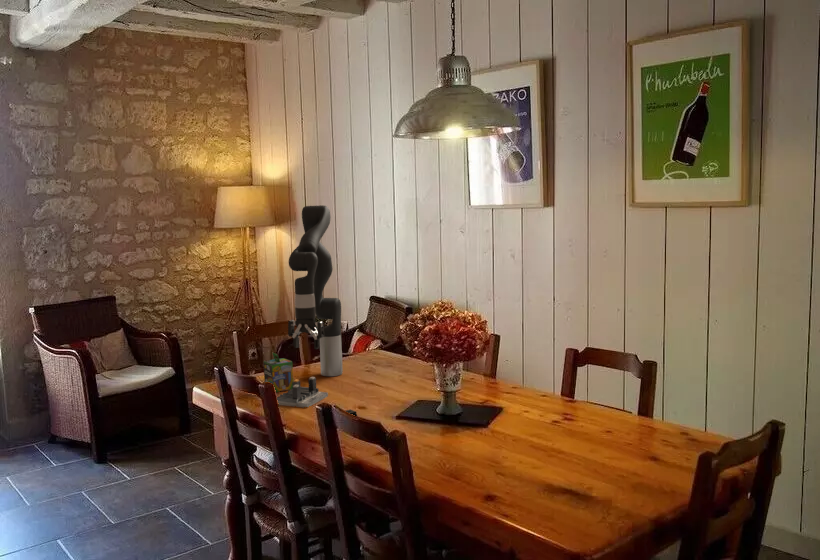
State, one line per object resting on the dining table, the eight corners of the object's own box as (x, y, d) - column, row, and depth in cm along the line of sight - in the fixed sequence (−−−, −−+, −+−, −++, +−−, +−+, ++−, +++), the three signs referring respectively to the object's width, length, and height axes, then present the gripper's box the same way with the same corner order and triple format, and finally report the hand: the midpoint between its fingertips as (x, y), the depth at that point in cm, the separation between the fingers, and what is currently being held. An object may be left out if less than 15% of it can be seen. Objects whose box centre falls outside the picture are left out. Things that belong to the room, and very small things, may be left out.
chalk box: (294, 389, 298) (293, 353, 296) (273, 393, 293) (271, 356, 291) (284, 384, 306) (283, 349, 304) (264, 388, 301) (262, 352, 299)
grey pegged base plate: (294, 392, 293) (293, 374, 292) (328, 396, 287) (327, 377, 286) (271, 404, 278) (270, 384, 277) (306, 408, 272) (306, 388, 271)
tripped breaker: (296, 394, 284) (295, 379, 284) (300, 394, 284) (300, 379, 283) (292, 396, 282) (292, 380, 281) (297, 396, 281) (296, 381, 281)
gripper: (326, 304, 277) (328, 347, 279) (293, 303, 283) (295, 345, 285) (316, 308, 270) (318, 351, 272) (283, 306, 276) (285, 349, 278)
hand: (306, 348), depth 278 cm, fingers open, 8 cm apart
